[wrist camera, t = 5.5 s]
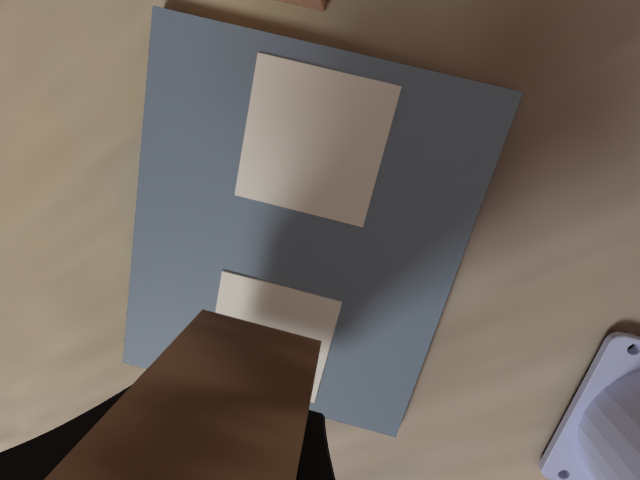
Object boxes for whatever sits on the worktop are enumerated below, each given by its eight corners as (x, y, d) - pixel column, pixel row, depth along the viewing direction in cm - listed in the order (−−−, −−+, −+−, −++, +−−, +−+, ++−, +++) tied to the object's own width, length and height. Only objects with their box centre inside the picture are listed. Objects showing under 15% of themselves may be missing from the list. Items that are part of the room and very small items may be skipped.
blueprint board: (516, 93, 14) (524, 91, 13) (394, 427, 18) (395, 438, 17) (161, 11, 14) (151, 4, 13) (130, 355, 19) (121, 363, 18)
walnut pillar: (321, 340, 13) (282, 550, 6) (295, 437, 14) (239, 699, 8) (202, 309, 13) (42, 481, 7) (187, 407, 14) (38, 638, 8)
